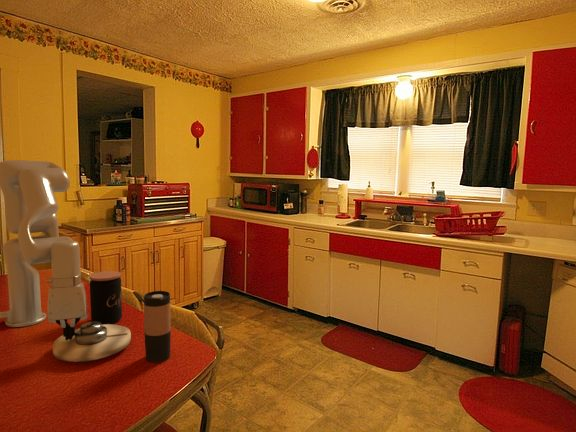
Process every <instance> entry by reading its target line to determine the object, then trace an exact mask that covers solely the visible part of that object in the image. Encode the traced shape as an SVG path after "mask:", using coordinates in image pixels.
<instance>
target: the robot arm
mask: <svg viewBox="0 0 576 432" xmlns="http://www.w3.org/2000/svg"><path fill="white" fill-rule="evenodd" d="M69 188H70V177H69V175H68V172H67V171H66V170H65V169H64V168H63V167H61V166H60V165H58V164H56V163H55V162H52V161H43V160H20V159H18V160H17V159H15V160H14V159H11V160H10V159H9V160H3V161H0V191H1V192H2V195H3V200H4V216H5V225H6V229H7V231H8V232H9V233H10V234H13V235H17V237H15V238H11V239H9V240H7V241H5V242H4V244H3V246H2V253H3V254H2V255H3V257H4V261H5V262H4V263H5V265H6V266H5V267H6V274H7V275H6V276H7V286H8V301H9V303H8V304H9V310H6V311H0V320H1V319H6V320H5V325H6V326H7V327H11V328H20V327H28V326H32V325H35V324H36V325H37V324H39V323H41V322H43V321H45V320H46V319H47V318H48V320H47V322H48V323H55V324H57V325H59V326H60V327H61V328H62V335H63V337H65V340H68V339H69V340H72V337H73V336H75V330H76V325H77V324H78V323H79V321H83V320H85V319H88V317H89V314H88V302H87V301H88V300H87V293H86V289H85V286H84V283H83V282H82V273H81V252H80V250H81V249H80V248H81V247H80V243H79V242H78V241H76V240H73V238H71V237H69V236H64V235H63V236H60V234H59V232H60V231H59V221H58V215H57V212H58V210H59V204H58V201H57V199H56V195H55V193H65V192H67V191H68V190H69ZM35 233H41V234H42V235H34V236H33V235H32V234H35ZM44 263H51V264H50V265H51V277H50V278H47V279H46V284H51V286H49V289H48V294H47V313H45V312H43V311H42V301H41V285H40V284H41V283H40V273H39V271H38V270H37V269H36V268H35V267H34V266H33V265H37V264H44ZM68 320H70V323H69V322H68Z"/></svg>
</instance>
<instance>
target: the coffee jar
mask: <svg viewBox="0 0 576 432" xmlns="http://www.w3.org/2000/svg"><path fill="white" fill-rule="evenodd" d="M121 276H122V274H121V272H120V271H116V270H103V271H98V272H94V273H92V274H90V275H89V280H90V281H89V299H90V301H89V303H90V306H89V307H90V320H91V321H90V322H100V323H101V324H102V325H104V324H112V325H115V324H117V323H119V322H120V321H121V319H122V317H123V303H122V302H123V301H122V300H123V298H122V296H123V295H122V279H121V278H120V277H121Z"/></svg>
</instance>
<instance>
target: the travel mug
mask: <svg viewBox="0 0 576 432" xmlns="http://www.w3.org/2000/svg"><path fill="white" fill-rule="evenodd" d="M171 317H172V316H171V293H170V292H169V291H165V290H155V291H150V292H146V293H145V294H144V295H143V321H144V322H143V325H144V326H143V329H144V330H143V331H144V333H143V334H144V350H145V361H146V362H147V363H151V364H159V363H163V362H166V361H167V360H169V359H170V357H171V346H172V345H171V339H172V338H171V337H172V336H171V335H172V330H171V329H172V328H171V327H172V325H171V324H172V322H171V321H172V320H171Z"/></svg>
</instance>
